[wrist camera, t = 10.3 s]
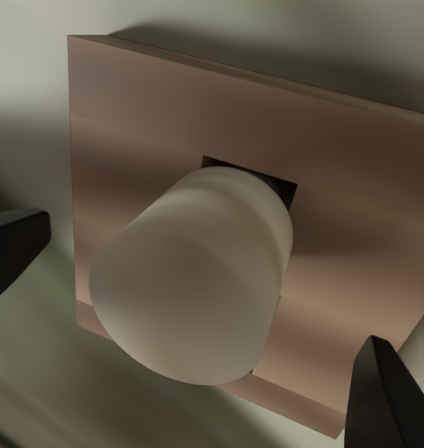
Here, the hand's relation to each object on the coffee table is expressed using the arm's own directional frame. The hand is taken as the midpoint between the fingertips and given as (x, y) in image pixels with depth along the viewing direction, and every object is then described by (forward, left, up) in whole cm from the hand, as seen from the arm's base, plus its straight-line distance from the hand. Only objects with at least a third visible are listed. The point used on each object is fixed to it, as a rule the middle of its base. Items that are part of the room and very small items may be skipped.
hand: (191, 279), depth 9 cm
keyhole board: (0, -4, -8) cm, 9 cm away
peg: (0, 0, -8) cm, 8 cm away
